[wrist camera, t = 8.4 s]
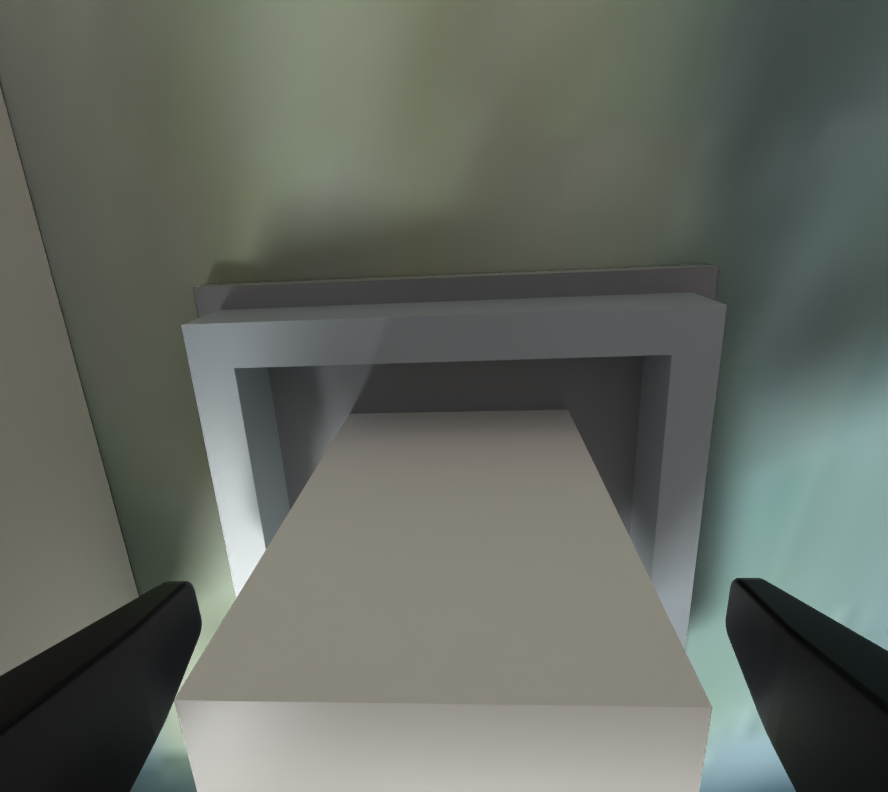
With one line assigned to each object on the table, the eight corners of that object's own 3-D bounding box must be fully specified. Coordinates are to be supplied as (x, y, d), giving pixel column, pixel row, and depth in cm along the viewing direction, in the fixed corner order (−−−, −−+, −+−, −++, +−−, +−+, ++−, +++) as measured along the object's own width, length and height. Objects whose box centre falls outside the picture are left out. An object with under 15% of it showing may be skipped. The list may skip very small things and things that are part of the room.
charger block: (567, 409, 11) (723, 728, 4) (561, 593, 12) (668, 1054, 6) (349, 413, 11) (160, 721, 4) (367, 593, 13) (246, 1033, 6)
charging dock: (707, 263, 10) (760, 275, 9) (663, 670, 14) (694, 745, 12) (205, 284, 11) (150, 299, 9) (275, 668, 14) (245, 739, 12)
